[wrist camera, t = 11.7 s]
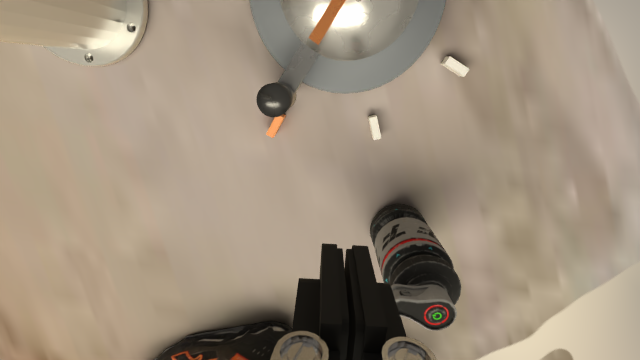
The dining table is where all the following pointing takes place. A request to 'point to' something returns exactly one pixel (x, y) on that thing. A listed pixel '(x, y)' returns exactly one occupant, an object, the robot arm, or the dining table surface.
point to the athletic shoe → (230, 343)
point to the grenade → (415, 267)
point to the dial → (333, 39)
